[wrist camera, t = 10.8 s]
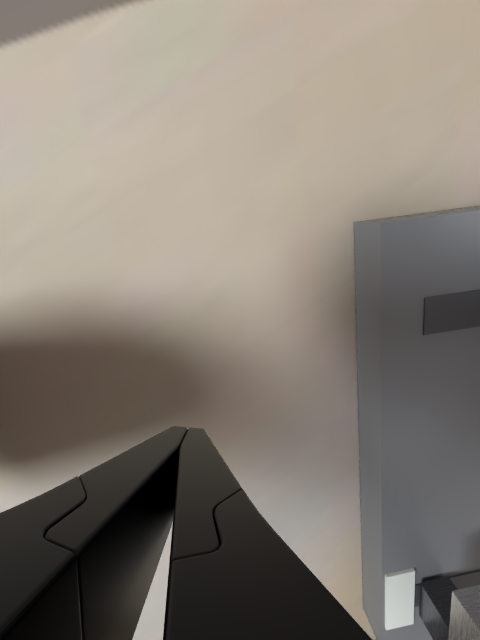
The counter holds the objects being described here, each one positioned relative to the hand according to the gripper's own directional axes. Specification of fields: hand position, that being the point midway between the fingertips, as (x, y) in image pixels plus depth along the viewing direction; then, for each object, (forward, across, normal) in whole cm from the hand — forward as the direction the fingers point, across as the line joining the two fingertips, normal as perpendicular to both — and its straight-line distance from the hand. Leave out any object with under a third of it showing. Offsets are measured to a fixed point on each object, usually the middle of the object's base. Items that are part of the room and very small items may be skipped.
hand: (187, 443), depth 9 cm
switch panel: (+13, +17, -7) cm, 23 cm away
